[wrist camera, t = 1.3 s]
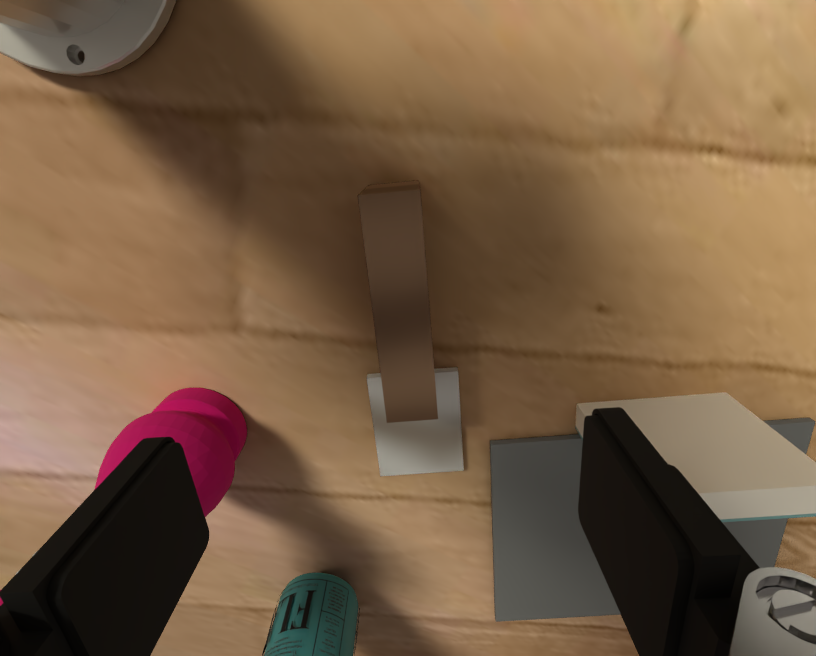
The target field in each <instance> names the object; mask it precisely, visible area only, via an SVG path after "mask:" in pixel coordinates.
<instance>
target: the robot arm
mask: <svg viewBox="0 0 816 656" xmlns="http://www.w3.org/2000/svg"><path fill="white" fill-rule="evenodd" d="M175 3H176V0H0V53H2V54H3V55H5V56H8V57H10V58H12V59H14V60H16V61H18V62H20V63H23V64H25V65H27V66H30V67H34V68H37V69H41V70H45V71H49V72H53V73H59V74H65V75H72V76H90V75H101V74H104V73H107V72H111V71H114V70H118V69H121V68H122V67H124V66H126V65H127V64H129V63H131V62H133V61H134V60H136V59H138V58H139V57H140V56H141V55H142V54H143V53H144V52H145V51H146V50H148V49H149V48H150V47H151V46H152V45H153V44H154V43H155V41H156V40H157V38H158V37H159V35H160V34H161V32H162V31H163V29H164V28H165V26H166V24H167V23H168V21H169V18H170V16H171V13H172V10H173V8H174V5H175ZM84 54H85V60H84ZM578 514H579V520H580V523H581V526H582V528H583V531H584V533H585V535H586V537H587V540H588V542H589V544H590V546H591V548H592V551H593V553H594V555H595V557H596V560H597V562H598V564H599V566H600V569H601V571H602V573H603V575H604V578H605V580H606V582H607V584H608V587H609V589H610V591H611V593H612V596H613V598H614V600H615V602H616V604H617V607H618V609H619V611H620V613H621V616H622V618H623V620H624V622H625V625H626V627H627V629H628V631H629V634H630V636H631V638H632V640H633V643H634V645H635V647H636V649H637V651H638V654H639V656H816V579H814V578H812V577H810V576H808V575H806V574H803V573H800V572H796V571H793V570H790V569H785V568H777V567H767V568H760V567H759V566H758V565H757V564H756V563H755V561H754V560H753V559H752V558H751V557H750V555H749V554H748V553H747V552H746V551H745V549H744V548H743V547H742V546H741V545H740V543H739V542H738V541H737V540H736V538H735V537H734V536H733V535H732V534H731V532H730V531H729V530H728V529H727V528H726V526H725V525H724V524H723V523H722V522H721V520H720V519H719V518H718V517H717V516H716V514H715V513H714V512H713V511H712V509H711V508H710V507H709V506H708V505H707V503H706V502H705V501H704V500H703V499H702V497H701V496H700V495H699V494H698V493H697V491H696V490H695V489H694V488H693V487H692V485H691V484H690V483H689V482H688V480H687V479H686V478H685V477H684V476H683V474H682V473H681V472H680V471H679V470H678V469H677V468H676V467H675V466H673V465H670V464H667V462H666V461H665V460H664V459H663V457H662V456H661V455H660V454H659V452H658V451H657V450H656V449H655V448H654V446H653V445H652V444H651V443H650V441H649V440H648V439H647V438H646V436H645V435H644V434H643V433H642V431H641V430H640V429H639V428H638V426H637V425H636V424H635V423H634V422H633V420H632V419H631V418H630V417H629V415H628V414H627V413H626V412H625V410H624V409H623V408H621V407H613V408H597V409H594V410H593V412H592V415H589V416H586V417H585V419H584V429H583V444H582V458H581V473H580V487H579V502H578ZM208 541H209V529H208V526H207V522H206V519H205V516H204V513H203V510H202V507H201V504H200V500H199V497H198V494H197V491H196V488H195V485H194V481H193V478H192V475H191V472H190V469H189V466H188V463H187V459H186V456H185V453H184V450H183V447H182V445H181V444H180V443H178V442H175V440H174V439H173V438H172V437H155V438H145V439H143V440H141V441H140V442H139V443H138V444H137V445H136V446H135V447H134V448H133V449H132V451H131V452H130V453H129V454H128V455H127V456H126V457H125V458H124V459H123V460H122V461H121V462H120V463H119V465H118V466H117V467H116V468H115V469H114V470H113V471H112V472H111V473H110V474H109V475H108V476H107V477H106V478H105V480H104V481H103V482H102V483H101V484H100V485H99V486H98V487H97V488H96V489H95V490H94V491H93V492H92V493H91V495H90V496H89V497H88V498H87V499H86V500H85V501H84V502H83V503H82V504H81V505H80V506H79V507H78V508H77V510H76V511H75V512H74V513H73V514H72V515H71V516H70V517H69V518H68V519H67V520H66V521H65V522H64V523H63V525H62V526H61V527H60V528H59V529H58V530H57V531H56V532H55V533H54V534H53V535H52V536H51V537H50V538H49V540H48V541H47V542H46V543H45V544H44V545H43V546H42V547H41V548H40V549H39V550H38V551H37V552H36V554H35V555H34V556H33V557H32V558H31V559H30V560H29V561H28V562H27V563H26V564H25V565H24V566H23V567H22V569H21V570H20V571H19V572H18V573H17V574H16V575H15V576H14V577H13V578H12V579H11V580H10V581H9V582H8V584H7V585H6V586H5V587H4V588H3V589H2V590H1V591H0V597H1V599H2V601H3V602H4V603H3V604H2V605H1V606H0V656H150V655H151V653H152V651H153V649H154V647H155V645H156V643H157V641H158V640H159V638H160V636H161V634H162V632H163V630H164V628H165V626H166V624H167V622H168V620H169V618H170V616H171V614H172V613H173V611H174V609H175V607H176V605H177V603H178V601H179V599H180V597H181V595H182V593H183V591H184V589H185V587H186V586H187V584H188V582H189V580H190V578H191V576H192V574H193V572H194V570H195V568H196V566H197V564H198V562H199V560H200V559H201V557H202V555H203V553H204V551H205V549H206V547H207V544H208Z"/></svg>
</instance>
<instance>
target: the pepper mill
mask: <svg viewBox="0 0 816 656" xmlns="http://www.w3.org/2000/svg"><path fill="white" fill-rule="evenodd" d="M155 437H172V438H173V439H174V440H175V442H178V443H180V444H181V445H182V447H183V450H184V453H185V456H186V459H187V463H188V466H189V469H190V472H191V475H192V478H193V481H194V485H195V488H196V491H197V494H198V497H199V500H200V504H201V507H202V510H203V513H204V516H205V517H206V516H207V515H208V514H209V513H210V512H211V511H212V510H213V509H214V508H215V507H216V506H217V505H218V504H219V502H220V501H221V500H222V498H223V497H224V495H225V494H226V492H227V491H228V489H229V487H230V485H231V483H232V480H233V477H234V471H235V460H236V459H237V457H238V455H239V453H240V452H241V450H242V448H243V446H244V444H245V441H246V437H247V427H246V422H245V419H244V417H243V415H242V413H241V411H240V410H239V409H238V408H237V406H236V405H235V404H234V403H233V402H231V401H230V400H229V399H228V398H227V397H225V396H223V395H221V394H219V393H217V392H215V391H212V390H208V389H204V388H185V389H181V390H178V391H176V392H174V393H172V394H170V395H169V396H168V397H166V398H165V399H164V400H163V401H162V402H161V403H160V404H159V405H158V406H157V407H156V408H155V409H154V411H153V412H152V413H150V414H146V415H144V416H142V417H140V418H138V419H136V420H134V421H133V422H131V423H130V424H129V425H127V426H126V427H125V428H124V429H123V430H122V432H121V433H120V434H119V435H118V436H117V438H116V439H115V440H114V441H113V443H112V444H111V446H110V447H109V449H108V451H107V453H106V455H105V458H104V460H103V462H102V465H101V467H100V470H99V474H98V478H97V482H96V486H95V489H96V488H97V487H98V486H99V485H100V484H101V483H102V482H103V481H104V480H105V478H106V477H107V476H108V475H109V474H110V473H111V472H112V471H113V470H114V469H115V468H116V467H117V466H118V465H119V463H120V462H121V461H122V460H123V459H124V458H125V457H126V456H127V455H128V454H129V453H130V452H131V451H132V449H133V448H134V447H135V446H136V445H137V444H138V443H139V442H140V441H141V440H143V439H145V438H155ZM35 554H36V553H35ZM35 554H34V555H35ZM34 555H33V556H34ZM33 556H32V557H33ZM21 569H22V568H21ZM21 569H20V570H21ZM20 570H19V571H20ZM19 571H18V572H19ZM18 572H17V573H18ZM17 573H16V574H17ZM0 591H1V590H0ZM3 603H4V602H3V601H2V599H1V597H0V606H1V605H2V604H3Z"/></svg>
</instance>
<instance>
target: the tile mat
mask: <svg viewBox="0 0 816 656" xmlns="http://www.w3.org/2000/svg"><path fill="white" fill-rule="evenodd" d="M764 422H765V423H766V424H767V425H769V426H770V427H771V428H772V429H774V430H775V431H776V432H778V433H779V434H780V435H781V436H783V437H784V438H785V439H787V440H788V441H789V442H790V443H792V444H793V445H794V446H796V447H797V448H798V449H799V450H801V451H802V452H803V453H805V454H806V453H807V449H808V446H809V442H810V439H811V435H812V432H813V428H814V425H815V421H814V420H812V419H811V418H797V419H783V420H769V421H764ZM582 444H583V440H582V439H581V437H580V435H579V434H575V435H561V436H547V437H533V438H519V439H506V440H492V441H490V464H491V499H492V533H493V568H494V603H495V619H496V621H514V620H532V619H549V618H567V617H585V616H602V615H620V614H621V613H620V611H619V609H618V607H617V604H616V602H615V600H614V598H613V596H612V593H611V591H610V589H609V587H608V584H607V582H606V580H605V578H604V575H603V573H602V571H601V569H600V566H599V564H598V562H597V560H596V557H595V555H594V553H593V551H592V548H591V546H590V544H589V542H588V540H587V537H586V535H585V533H584V531H583V528H582V526H581V523H580V520H579V514H578V502H579V487H580V473H581V458H582ZM787 520H788V518H782V519H766V520H750V521H735V522H722V523H723V524H724V525H725V526H726V528H727V529H728V530H729V531H730V532H731V534H732V535H733V536H734V537H735V538H736V540H737V541H738V542H739V543H740V545H741V546H742V547H743V548H744V549H745V551H746V552H747V553H748V554H749V555H750V557H751V558H752V559H753V560H754V561H755V563H756V564H757V565H758V566H759V567H760V568H767V567H774V565H775V562H776V558H777V555H778V551H779V548H780V544H781V541H782V537H783V534H784V530H785V527H786V523H787Z"/></svg>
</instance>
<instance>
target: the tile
mask: <svg viewBox="0 0 816 656" xmlns="http://www.w3.org/2000/svg"><path fill="white" fill-rule="evenodd" d="M613 407H621V408H623V409H624V410H625V412H626V413H627V414H628V415H629V417H630V418H631V419H632V420H633V422H634V423H635V424H636V425H637V426H638V428H639V429H640V430H641V431H642V433H643V434H644V435H645V436H646V438H647V439H648V440H649V441H650V443H651V444H652V445H653V446H654V448H655V449H656V450H657V451H658V452H659V454H660V455H661V456H662V457H663V459H664V460H665V461H666V462H667V464H670V465H673V466H675V467H676V468H677V469H678V470H679V471H680V472H681V473H682V474H683V476H684V477H685V478H686V479H687V480H688V482H689V483H690V484H691V485H692V487H693V488H694V489H695V490H696V491H697V493H698V494H699V495H700V496H701V497H702V499H703V500H704V501H705V502H706V503H707V505H708V506H709V507H710V508H711V509H712V511H713V512H714V513H715V514H716V516H717V517H718V518H719V519H720V520H721V522H735V521H750V520H766V519H782V518H797V517H813V516H816V462H815V461H814V460H812V459H811V458H810V457H808V456H807V455H806V454H805V453H803V452H802V451H801V450H799V449H798V448H797V447H796V446H794V445H793V444H792V443H790V442H789V441H788V440H787V439H785V438H784V437H783V436H781V435H780V434H779V433H778V432H776V431H775V430H774V429H772V428H771V427H770V426H769V425H767V424H766V423H765V422H764V421H762V420H761V419H760V418H758V417H757V416H756V415H755V414H753V413H752V412H751V411H749V410H748V409H747V408H746V407H744V406H743V405H742V404H740V403H739V402H738V401H737V400H735V399H734V398H733V397H731V396H730V395H729V394H728V393H726V392H723V393H710V394H696V395H683V396H670V397H656V398H643V399H629V400H616V401H603V402H589V403H577V407H576V425H575V428H576V430H577V432H578V433H579V435H580V437H581V439H582V440H583V429H584V419H585V417H586V416H589V415H592V412H593V410H594V409H597V408H613Z"/></svg>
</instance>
